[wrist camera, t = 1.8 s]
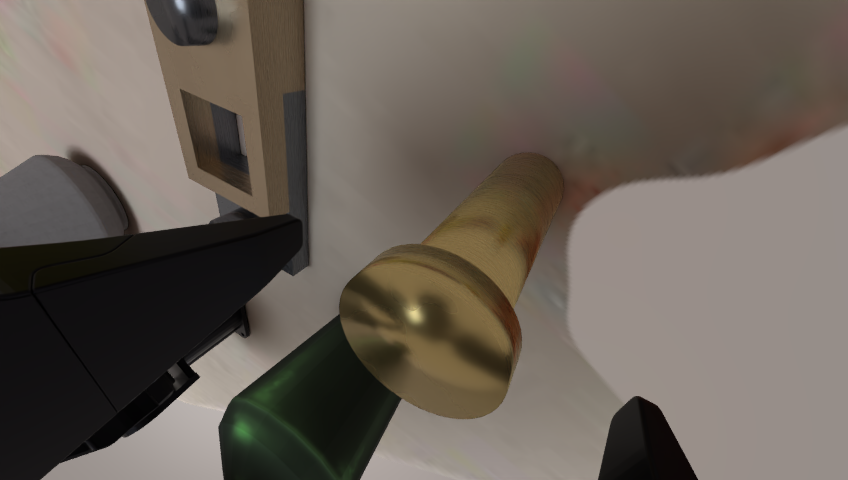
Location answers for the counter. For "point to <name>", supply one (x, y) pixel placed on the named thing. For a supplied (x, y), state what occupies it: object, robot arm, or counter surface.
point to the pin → (456, 295)
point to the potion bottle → (307, 415)
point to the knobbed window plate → (239, 102)
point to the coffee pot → (57, 204)
